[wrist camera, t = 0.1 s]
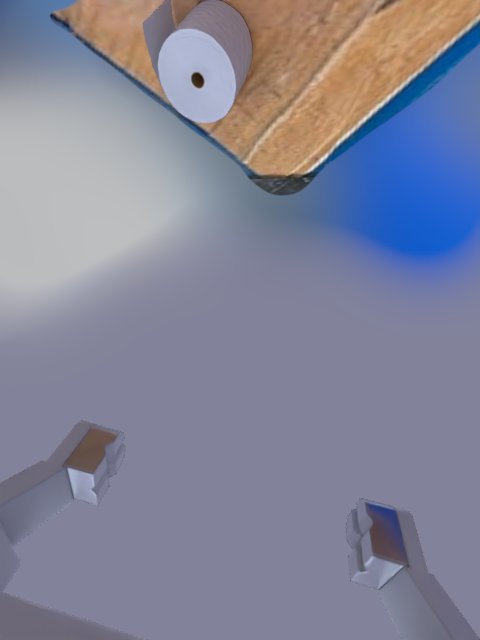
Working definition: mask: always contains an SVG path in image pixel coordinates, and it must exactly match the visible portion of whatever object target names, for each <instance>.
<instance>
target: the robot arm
mask: <svg viewBox="0 0 480 640" xmlns="http://www.w3.org/2000/svg"><path fill="white" fill-rule="evenodd" d="M124 439H125V436H124V432H121V431H118V430H114V429H111V428H107V427H104V426H100V425H97V424H94V423H90V422H87V421H83V420H81V421H80V422H79V423H77V424H76V425H75V426H74V428H73V429H72V430H71V431H70V433H69V434H68V435H67V436H66V438H65V439H64V440H63V441H62V443H61V444H60V445H59V446H58V448H57V449H56V450H55V451H54V453H53V454H52V455H51V456H50V457H49V459H48V460H47V461H40V462H39V463H37V464H35V465H33V466H31V467H29V468H27V469H26V470H23V471H22V472H20V473H18V474H16V475H14V476H12V477H10V478H9V479H7V480H5V481H3V482H1V483H0V640H146V639H143V638H140V637H138V636H134V635H131V634H128V633H125V632H122V631H119V630H116V629H113V628H110V627H107V626H104V625H101V624H98V623H95V622H92V621H89V620H86V619H83V618H80V617H76V616H74V615H70V614H67V613H65V612H62V611H58V610H55V609H52V608H49V607H46V606H43V605H40V604H37V603H34V602H31V601H28V600H25V599H22V598H19V597H16V596H13V595H10V594H7V593H4V592H3V591H4V589H5V588H6V586H7V584H8V583H9V582H10V580H11V579H12V577H13V576H14V574H15V572H16V571H17V569H18V568H19V566H20V559H19V558H18V556H17V554H16V552H15V550H14V548H13V546H14V545H16V544H17V543H18V542H20V541H21V540H22V539H24V538H25V537H26V536H28V535H29V534H30V533H32V532H33V531H34V530H36V529H37V528H38V527H40V526H41V525H42V524H44V523H45V522H46V521H48V520H49V519H50V518H52V517H53V516H54V515H56V514H57V513H58V512H60V511H61V510H62V509H63V508H65V507H66V506H68V505H69V504H70V503H72V502H73V501H74V499H75V500H79V501H83V502H86V503H90V504H94V505H99V504H100V502H101V500H102V498H103V497H104V495H105V493H106V491H107V490H108V488H109V478H110V477H112V476H114V475H115V474H117V472H118V470H119V468H120V466H121V464H122V462H123V459H124V456H125V446H124V444H123V443H122V442H123V440H124ZM356 505H357V508H356V509H354V510H351V512H350V513H349V515H348V518H347V523H346V539H347V542H348V543H349V545H350V547H351V548H352V551H351V552H350V554H349V556H348V561H349V571H350V581H352V582H355V583H358V584H361V585H364V586H367V587H370V588H373V589H376V590H379V591H378V594H379V596H380V598H381V600H382V601H383V604H384V606H385V608H386V610H387V611H388V613H389V615H390V618H391V620H392V621H393V624H394V625H395V627H396V629H397V631H398V633H399V635H400V637H401V639H402V640H480V639H479V637H478V636H477V635H476V633H475V632H474V630H473V629H472V628H471V626H470V625H469V624H468V622H467V621H466V619H465V618H464V617H463V615H462V614H461V612H460V611H459V610H458V608H457V607H456V606H455V604H454V603H453V601H452V600H451V599H450V597H449V596H448V594H447V593H446V592H445V591H444V589H443V588H442V586H441V585H440V583H439V582H438V581H437V579H436V578H435V576H434V575H432V574H429V573H428V570H427V567H426V563H425V559H424V556H423V552H422V549H421V545H420V541H419V537H418V534H417V530H416V527H415V523H414V519H413V516H412V514H411V513H410V512H409V511H407V510H404V509H400V508H396V507H392V506H390V505H386V504H382V503H378V502H375V501H371V500H367V499H363V498H362V499H359V500H358V501H357V503H356Z"/></svg>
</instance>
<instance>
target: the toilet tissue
mask: <svg viewBox="0 0 480 640" xmlns="http://www.w3.org/2000/svg"><path fill="white" fill-rule="evenodd" d="M143 30H144V34H145V40H146V44H147V48H148V51H149V55H150V57H151V61H152V65H153V68H154V70H155V72H156V75H157V77H158V79H159V82H160V84H161V86H162V88H163V90H164V92H165V94H166V96H167V98H168V99H169V101H170V102H171V104H172V105H173V106H174V107H175V108H176V109H177V110H178V111H179V112H180V113H181V114H182V115H184V116H185V117H187V118H189V119H191V120H193V121H196V122H200V123H211V122H215V121H217V120H219V119H221V118H222V117H224V116H225V115H226V114H227V113H228V112H229V110H230V108H231V106H232V104H233V102H234V101H235V99H236V97H237V94H238V92H239V91H240V89H241V86H242V85H243V82H244V81H245V79H246V76H247V74H248V72H249V70H250V66H251V61H252V41H251V37H250V32H249V29H248V28H247V25H246V23H245V21H244V19H243V18H242V16H241V15H240V13H238V12H237V11H236V10H235V9H234V8H233V7H231V6H230V5H228V4H227V3H225V2H222V1H219V0H206V1H203V2H201V3H199V4H197V5H196V6H195V7H194V8H193V9H192V10H191V11H190V13H188V14H187V16H185V18H184V19H183V20H182V21H181V22H180V24H179V25H178V26H177V27H176V28H175V24H174V20H173V15H172V7H171V0H166V1H165V2H163V4H162V5H160V6H159V7H158V9H156V11H154V13H153V14H152V15H151V16H150V17H149V18H148V19H147V20H145V21H144V22H143Z"/></svg>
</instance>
